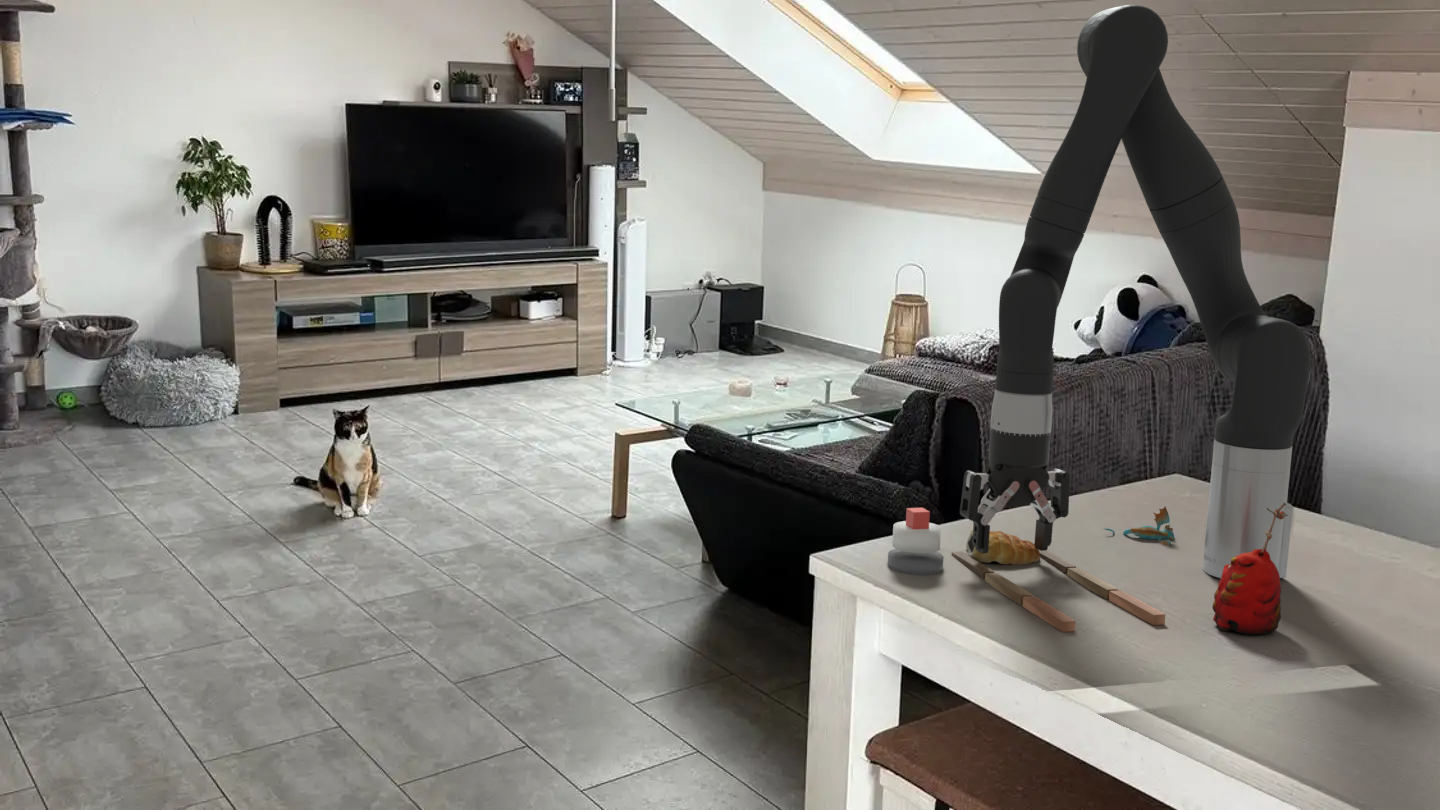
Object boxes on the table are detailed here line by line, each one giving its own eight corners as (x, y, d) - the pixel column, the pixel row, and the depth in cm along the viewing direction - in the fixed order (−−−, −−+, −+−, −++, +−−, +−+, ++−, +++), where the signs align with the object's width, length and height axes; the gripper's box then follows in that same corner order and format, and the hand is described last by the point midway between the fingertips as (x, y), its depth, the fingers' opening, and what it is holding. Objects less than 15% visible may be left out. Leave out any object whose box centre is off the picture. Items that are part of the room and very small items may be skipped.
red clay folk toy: (1222, 613, 152) (1234, 488, 149) (1286, 626, 148) (1299, 498, 145) (1204, 630, 146) (1216, 500, 143) (1271, 644, 142) (1284, 510, 139)
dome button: (927, 539, 169) (929, 503, 168) (948, 551, 163) (950, 514, 162) (885, 541, 167) (886, 505, 166) (903, 554, 161) (905, 516, 161)
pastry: (1031, 555, 173) (1034, 527, 173) (1045, 569, 167) (1048, 540, 166) (962, 552, 173) (964, 524, 173) (972, 565, 166) (975, 536, 166)
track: (1039, 555, 174) (1040, 547, 174) (1164, 624, 147) (1165, 614, 147) (951, 561, 170) (951, 552, 170) (1062, 632, 144) (1063, 621, 143)
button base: (928, 561, 170) (929, 546, 169) (952, 576, 163) (952, 561, 163) (878, 564, 168) (879, 549, 168) (900, 579, 161) (901, 564, 161)
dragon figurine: (1123, 567, 184) (1180, 560, 180) (1103, 551, 179) (1161, 544, 174) (1122, 523, 187) (1178, 516, 182) (1102, 506, 182) (1159, 498, 177)
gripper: (983, 432, 159) (974, 561, 161) (1086, 431, 163) (1076, 556, 165) (956, 421, 166) (948, 545, 169) (1055, 420, 170) (1045, 540, 173)
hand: (1011, 550), depth 167 cm, fingers open, 8 cm apart
